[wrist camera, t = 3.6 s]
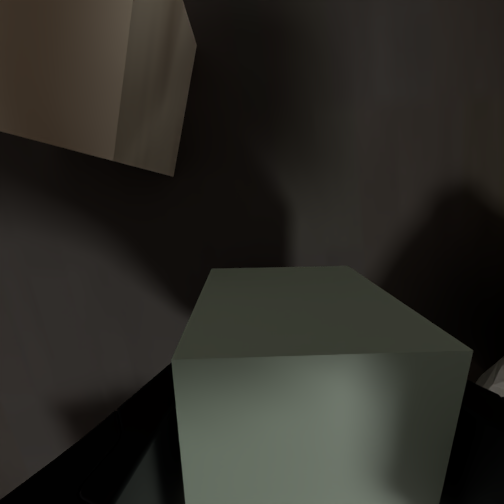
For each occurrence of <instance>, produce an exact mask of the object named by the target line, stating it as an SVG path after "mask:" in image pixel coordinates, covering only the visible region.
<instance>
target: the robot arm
mask: <svg viewBox="0 0 504 504" xmlns="http://www.w3.org/2000/svg"><path fill="white" fill-rule="evenodd" d="M0 504H185V494H184V484H183V474H182V464H181V453H180V443H179V433H178V423H177V413H176V402H175V392H174V382H173V372H172V362H171V363H170V364H169V365H168V366H167V367H166V368H164V369H163V370H162V371H161V372H160V373H159V374H157V375H156V376H155V377H154V378H153V379H152V380H150V381H149V382H148V383H147V384H146V385H145V386H143V387H142V388H141V389H140V390H139V391H138V392H136V393H135V394H134V395H133V396H132V397H130V398H129V399H128V400H127V401H126V402H125V403H123V404H122V405H121V406H120V407H119V408H118V409H117V411H114V412H113V413H112V414H110V415H109V416H108V417H107V418H106V419H105V420H103V421H102V422H101V423H100V424H99V425H97V426H96V427H95V428H94V429H93V430H91V431H90V432H89V433H88V434H86V435H85V436H84V437H83V438H82V439H80V440H79V441H78V442H76V443H75V444H74V445H73V446H71V447H70V448H69V449H67V450H66V451H65V452H63V453H62V454H61V455H60V456H58V457H57V458H56V459H54V460H53V461H52V462H50V463H49V464H48V465H46V466H45V467H44V468H42V469H41V470H40V471H38V472H37V473H36V474H34V475H33V476H32V477H30V478H29V479H28V480H26V481H25V482H24V483H22V484H21V485H20V486H18V487H17V488H15V489H14V490H13V491H11V492H10V493H9V494H7V495H6V496H5V497H3V498H2V499H1V500H0ZM439 504H504V397H501V396H500V395H499V394H497V393H494V392H492V391H490V390H488V389H486V388H484V387H482V386H480V385H477V384H475V383H473V382H471V381H469V380H467V381H466V386H465V390H464V395H463V399H462V404H461V408H460V413H459V417H458V422H457V426H456V431H455V435H454V439H453V444H452V448H451V453H450V457H449V462H448V466H447V471H446V475H445V480H444V484H443V489H442V493H441V498H440V502H439Z"/></svg>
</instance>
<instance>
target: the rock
mask: <svg viewBox="0 0 504 504" xmlns="http://www.w3.org/2000/svg"><path fill="white" fill-rule="evenodd" d="M475 384H477V385H480V386H482V387H484V388H486V389H488V390H490V391H492V392H494V393H497V394H499V395H500V396H501V397H504V356H503V357H502V358H501V359H500V360H499V361H497V362H496V363H495V364H494V365H493V366H492V367H490V368H489V369H488V370H487V371H486V372H485V373H483V374H482V375H481V376H480V377H479V379H478V380H477V382H476V383H475Z"/></svg>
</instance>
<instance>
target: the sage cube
mask: <svg viewBox="0 0 504 504" xmlns="http://www.w3.org/2000/svg"><path fill="white" fill-rule="evenodd" d="M472 354H473V350H472V349H470V348H469V347H467V346H466V345H464V344H463V343H462V342H460V341H459V340H457V339H456V338H454V337H453V336H451V335H450V334H448V333H447V332H445V331H444V330H442V329H441V328H439V327H438V326H436V325H435V324H433V323H432V322H430V321H429V320H427V319H426V318H424V317H423V316H421V315H420V314H419V313H417V312H416V311H414V310H413V309H411V308H410V307H408V306H407V305H405V304H404V303H402V302H401V301H399V300H398V299H396V298H395V297H393V296H392V295H390V294H389V293H387V292H386V291H384V290H383V289H381V288H380V287H378V286H377V285H376V284H374V283H373V282H371V281H370V280H368V279H367V278H365V277H364V276H362V275H361V274H359V273H358V272H356V271H355V270H353V269H352V268H350V267H349V266H321V267H270V268H218V269H211V271H210V273H209V276H208V278H207V280H206V282H205V285H204V287H203V289H202V291H201V294H200V296H199V298H198V300H197V303H196V305H195V307H194V309H193V312H192V314H191V316H190V318H189V321H188V323H187V325H186V328H185V330H184V332H183V334H182V337H181V339H180V341H179V343H178V346H177V348H176V350H175V352H174V355H173V357H172V359H171V362H172V372H173V382H174V392H175V402H176V413H177V423H178V433H179V443H180V453H181V464H182V474H183V484H184V494H185V504H439V502H440V498H441V493H442V489H443V484H444V480H445V475H446V471H447V466H448V462H449V457H450V453H451V448H452V444H453V439H454V435H455V431H456V426H457V422H458V417H459V413H460V408H461V404H462V399H463V395H464V390H465V386H466V381H467V377H468V372H469V368H470V363H471V359H472Z"/></svg>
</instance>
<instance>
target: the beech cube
mask: <svg viewBox="0 0 504 504" xmlns="http://www.w3.org/2000/svg"><path fill="white" fill-rule="evenodd" d="M196 47H197V44H196V41H195V38H194V34H193V31H192V28H191V25H190V22H189V18H188V15H187V12H186V9H185V6H184V3H183V0H0V131H1V132H5V133H9V134H12V135H16V136H20V137H24V138H28V139H31V140H35V141H39V142H43V143H47V144H50V145H54V146H58V147H62V148H66V149H69V150H73V151H77V152H81V153H85V154H88V155H92V156H96V157H100V158H104V159H107V160H111V161H115V162H119V163H123V164H127V165H130V166H134V167H138V168H142V169H146V170H149V171H153V172H157V173H161V174H165V175H168V176H172V177H174V171H175V166H176V160H177V154H178V149H179V143H180V137H181V132H182V126H183V121H184V115H185V109H186V104H187V98H188V92H189V87H190V81H191V75H192V70H193V64H194V58H195V53H196Z"/></svg>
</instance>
